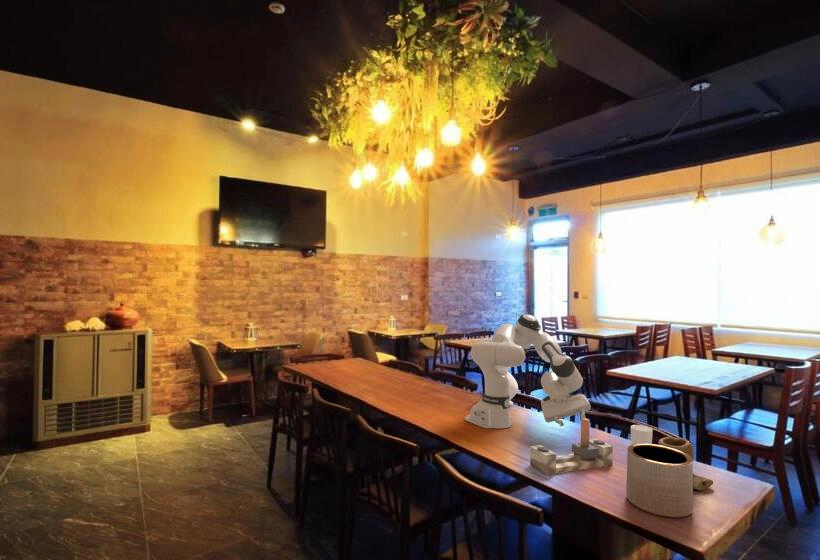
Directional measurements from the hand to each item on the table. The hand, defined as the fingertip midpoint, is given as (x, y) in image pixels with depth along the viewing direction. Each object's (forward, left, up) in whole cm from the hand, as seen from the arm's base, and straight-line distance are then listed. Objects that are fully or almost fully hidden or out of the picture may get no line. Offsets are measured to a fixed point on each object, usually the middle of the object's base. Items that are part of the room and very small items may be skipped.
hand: (573, 421), depth 183 cm
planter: (+41, -29, -10) cm, 51 cm away
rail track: (+9, -21, -10) cm, 25 cm away
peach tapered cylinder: (+12, -15, -7) cm, 21 cm away
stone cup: (+42, -7, -10) cm, 43 cm away
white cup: (+23, +13, -10) cm, 28 cm away
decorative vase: (-57, +34, -10) cm, 67 cm away
